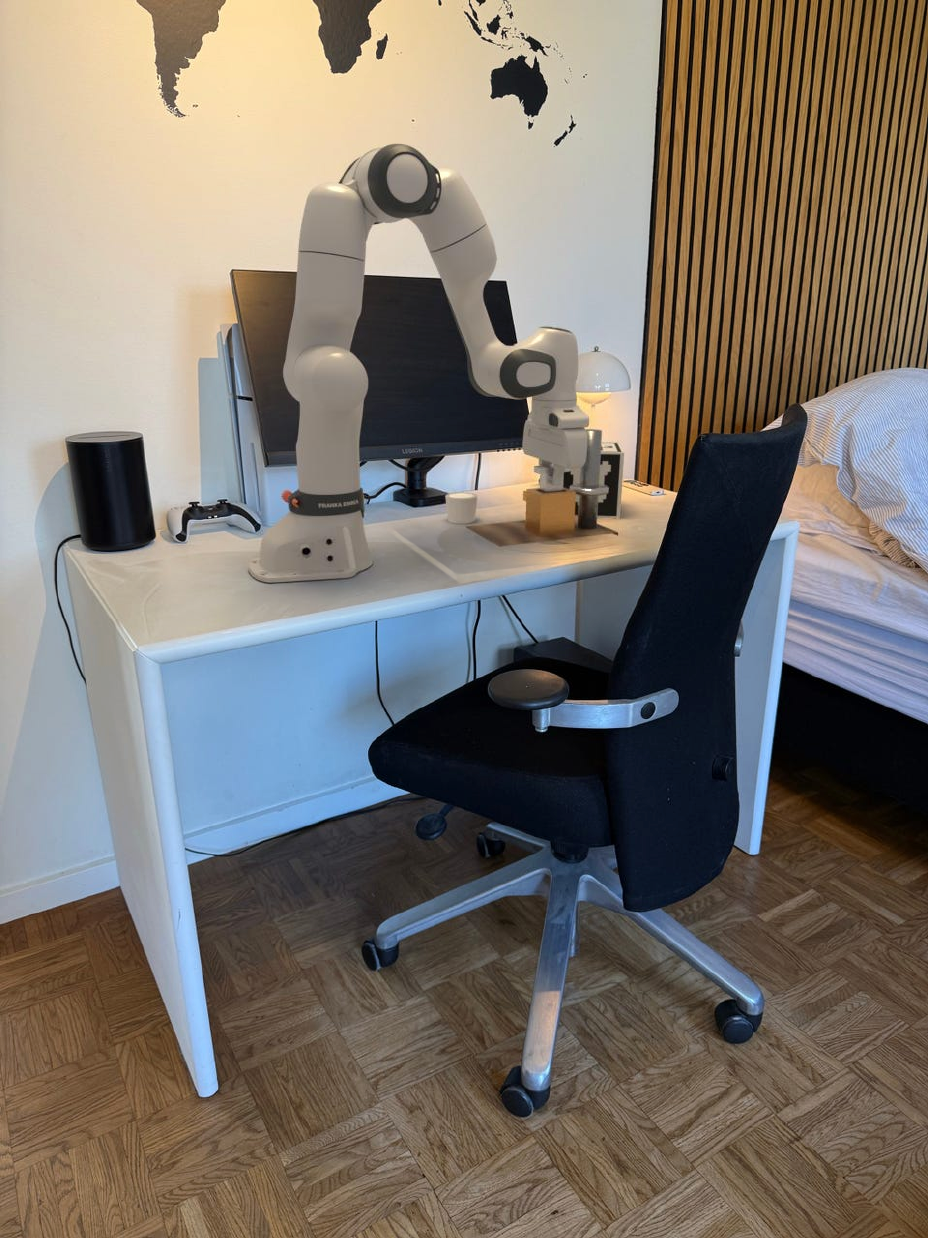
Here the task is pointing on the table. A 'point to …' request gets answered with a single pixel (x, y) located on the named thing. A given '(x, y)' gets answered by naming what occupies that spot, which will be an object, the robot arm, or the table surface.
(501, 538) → the base board
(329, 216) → the robot arm
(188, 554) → the table surface
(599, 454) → the ringlock node
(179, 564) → the table surface
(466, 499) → the white short cylinder
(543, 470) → the wedge pin
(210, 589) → the table surface
